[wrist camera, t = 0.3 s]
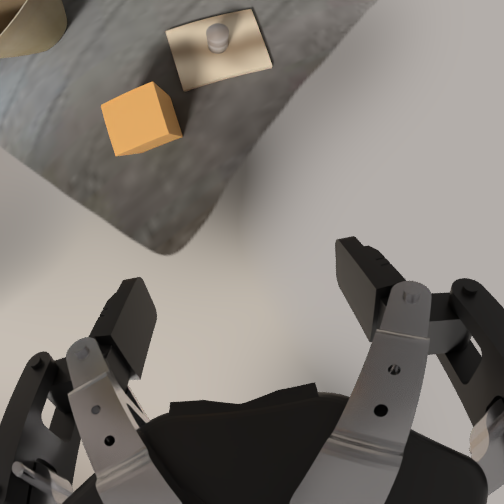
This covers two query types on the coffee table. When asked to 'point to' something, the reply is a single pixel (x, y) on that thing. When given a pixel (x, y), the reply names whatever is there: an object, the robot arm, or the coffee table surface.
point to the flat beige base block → (218, 49)
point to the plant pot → (30, 26)
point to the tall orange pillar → (141, 120)
